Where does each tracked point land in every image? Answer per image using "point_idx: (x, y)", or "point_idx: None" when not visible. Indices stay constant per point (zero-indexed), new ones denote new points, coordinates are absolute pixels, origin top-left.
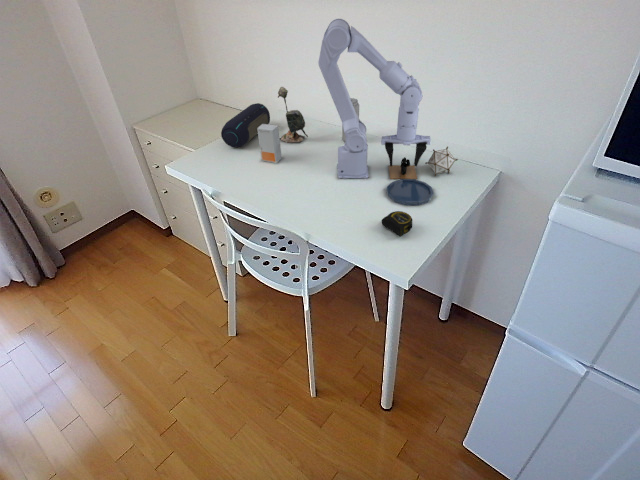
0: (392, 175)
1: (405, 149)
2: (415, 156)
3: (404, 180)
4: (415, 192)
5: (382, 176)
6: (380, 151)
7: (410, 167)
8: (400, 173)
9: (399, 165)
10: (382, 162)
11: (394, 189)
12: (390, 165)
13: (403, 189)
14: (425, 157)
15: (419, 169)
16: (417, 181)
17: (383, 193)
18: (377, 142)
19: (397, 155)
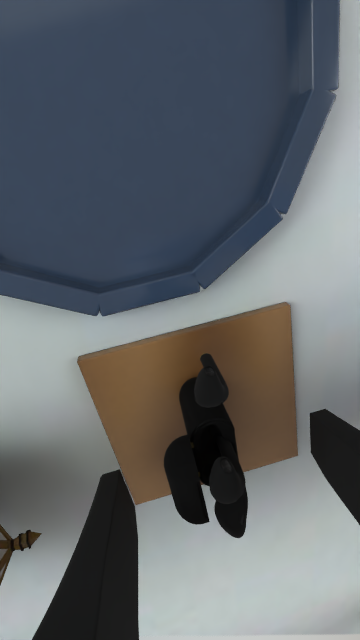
0: (273, 347)
1: (208, 610)
2: (131, 582)
3: (176, 273)
4: (23, 72)
5: (336, 326)
6: (330, 557)
7: (157, 477)
8: None
9: None
10: None
11: (251, 102)
12: (330, 413)
13: (164, 122)
14: None
15: (94, 479)
16: (51, 283)
17: (347, 19)
18: (338, 607)
19: (245, 557)
